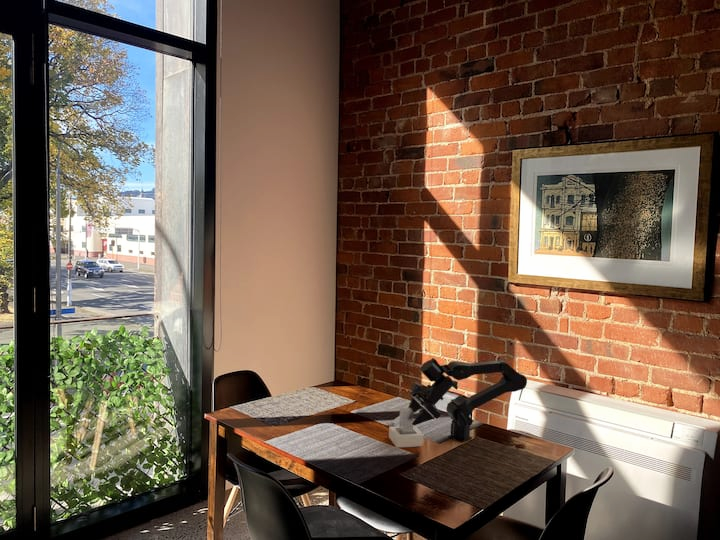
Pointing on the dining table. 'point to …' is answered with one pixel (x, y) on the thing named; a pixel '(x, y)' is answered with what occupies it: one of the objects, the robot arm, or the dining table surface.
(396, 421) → the adjustable wrench
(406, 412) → the steel peg
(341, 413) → the dining table surface
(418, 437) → the socket block
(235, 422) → the dining table surface
